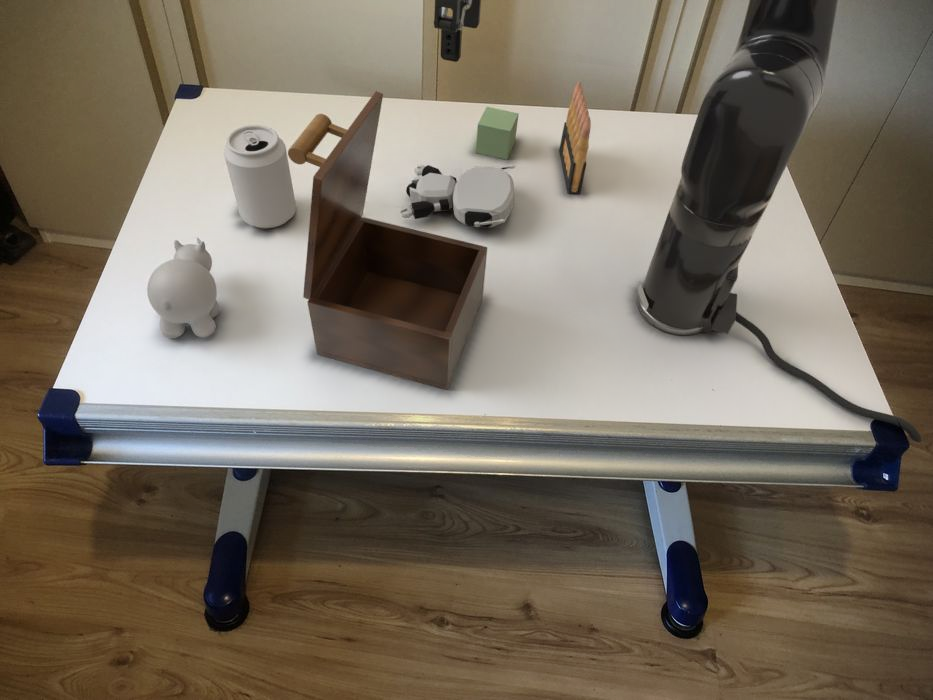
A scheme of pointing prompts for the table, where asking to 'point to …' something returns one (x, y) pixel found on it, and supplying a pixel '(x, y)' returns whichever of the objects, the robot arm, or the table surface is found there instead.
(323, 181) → the lid
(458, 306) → the chest
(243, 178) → the can
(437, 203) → the robot toy
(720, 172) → the robot arm
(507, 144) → the block
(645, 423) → the table surface
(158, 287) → the chubby cartoon animal
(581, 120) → the ammunition clip
